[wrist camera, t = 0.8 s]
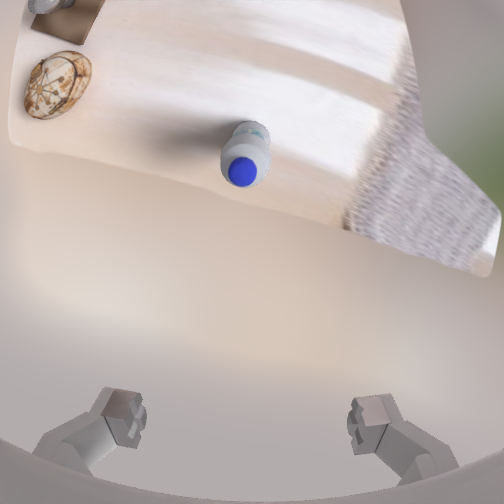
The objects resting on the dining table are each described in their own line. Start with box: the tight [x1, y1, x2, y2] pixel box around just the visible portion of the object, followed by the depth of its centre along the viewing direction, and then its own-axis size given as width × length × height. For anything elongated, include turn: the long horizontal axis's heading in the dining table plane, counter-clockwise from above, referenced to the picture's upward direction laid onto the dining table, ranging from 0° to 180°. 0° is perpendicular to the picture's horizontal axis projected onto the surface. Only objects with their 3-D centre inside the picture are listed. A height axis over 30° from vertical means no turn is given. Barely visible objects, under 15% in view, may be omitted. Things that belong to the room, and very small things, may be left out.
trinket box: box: [24, 51, 92, 120], centre depth 42 cm, size 13×15×8 cm
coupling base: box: [31, 0, 105, 45], centre depth 33 cm, size 15×15×6 cm
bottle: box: [220, 121, 271, 188], centre depth 43 cm, size 7×7×20 cm
